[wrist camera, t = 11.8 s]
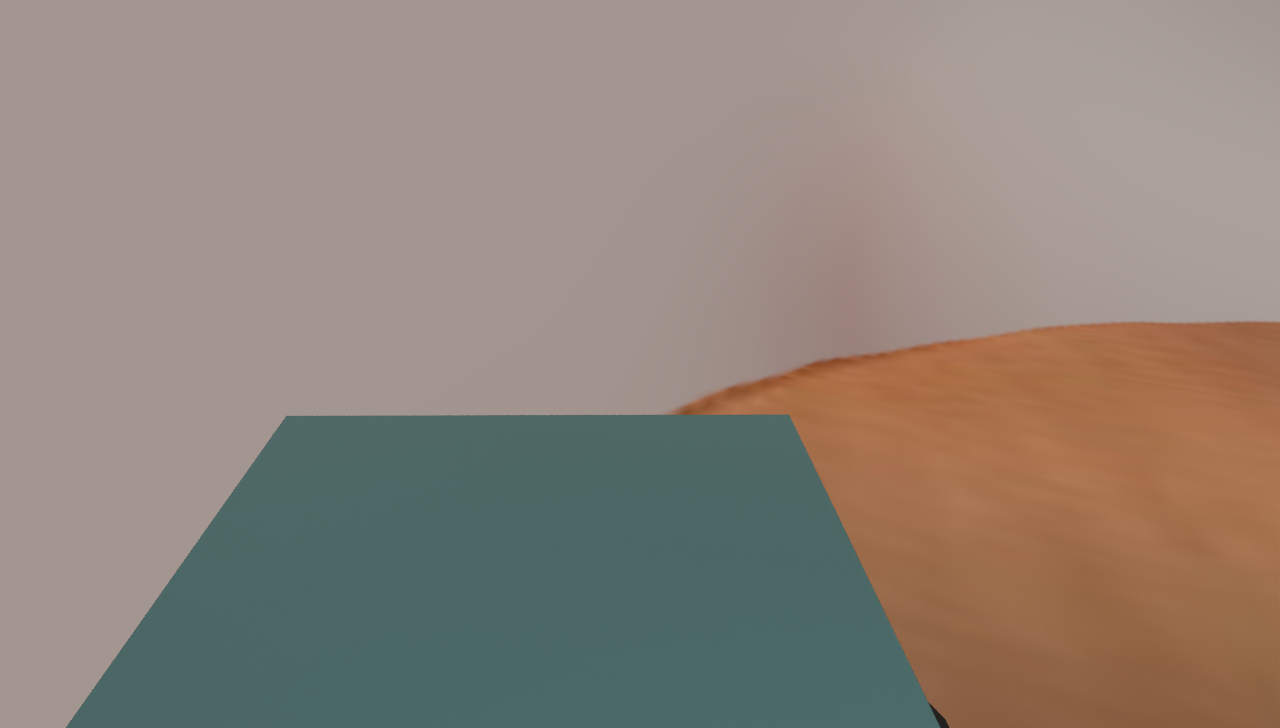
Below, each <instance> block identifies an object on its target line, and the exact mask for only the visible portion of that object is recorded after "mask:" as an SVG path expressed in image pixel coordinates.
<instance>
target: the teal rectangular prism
mask: <svg viewBox="0 0 1280 728" xmlns="http://www.w3.org/2000/svg"><path fill="white" fill-rule="evenodd" d="M66 728H940V726H939V724H938V722H937V720H936V718H935V716H934V714H933V711H932V709H931V707H930V705H929V703H928V701H927V699H926V697H925V695H924V693H923V691H922V689H921V687H920V685H919V683H918V680H917V678H916V676H915V674H914V672H913V670H912V668H911V666H910V664H909V662H908V660H907V658H906V656H905V654H904V651H903V649H902V647H901V645H900V643H899V641H898V639H897V637H896V635H895V633H894V631H893V629H892V627H891V625H890V623H889V620H888V618H887V616H886V614H885V612H884V610H883V608H882V606H881V604H880V602H879V600H878V598H877V596H876V594H875V592H874V589H873V587H872V585H871V583H870V581H869V579H868V577H867V575H866V573H865V571H864V569H863V567H862V565H861V563H860V561H859V558H858V556H857V554H856V552H855V550H854V548H853V546H852V544H851V542H850V540H849V538H848V536H847V534H846V532H845V530H844V527H843V525H842V523H841V521H840V519H839V517H838V515H837V513H836V511H835V509H834V507H833V505H832V503H831V501H830V499H829V496H828V494H827V492H826V490H825V488H824V486H823V484H822V482H821V480H820V478H819V476H818V474H817V472H816V470H815V468H814V465H813V463H812V461H811V459H810V457H809V455H808V453H807V451H806V449H805V447H804V445H803V443H802V441H801V439H800V436H799V434H798V432H797V430H796V428H795V426H794V424H793V422H792V420H791V418H790V416H789V415H520V416H519V415H516V416H515V415H513V416H511V415H505V416H504V415H503V416H502V415H501V416H500V415H499V416H498V415H496V416H495V415H491V416H490V415H489V416H286V417H285V419H284V420H283V422H282V423H281V424H280V426H279V427H278V429H277V430H276V431H275V433H274V434H273V436H272V437H271V439H270V440H269V441H268V443H267V444H266V446H265V447H264V449H263V450H262V451H261V453H260V454H259V456H258V457H257V458H256V460H255V461H254V463H253V464H252V465H251V467H250V468H249V470H248V471H247V473H246V474H245V475H244V477H243V478H242V480H241V481H240V483H239V484H238V485H237V487H236V488H235V489H234V491H233V492H232V494H231V495H230V497H229V498H228V499H227V501H226V502H225V504H224V505H223V506H222V508H221V509H220V511H219V512H218V513H217V515H216V516H215V518H214V519H213V521H212V522H211V523H210V525H209V526H208V528H207V529H206V530H205V532H204V533H203V535H202V536H201V538H200V539H199V541H198V542H197V543H196V545H195V546H194V547H193V549H192V550H191V552H190V553H189V555H188V556H187V557H186V559H185V560H184V562H183V563H182V564H181V566H180V567H179V569H178V570H177V571H176V573H175V574H174V576H173V577H172V579H171V580H170V581H169V583H168V584H167V586H166V587H165V588H164V590H163V591H162V593H161V594H160V596H159V597H158V599H157V600H156V601H155V603H154V604H153V605H152V607H151V608H150V610H149V611H148V613H147V614H146V615H145V617H144V618H143V620H142V621H141V622H140V624H139V626H138V627H137V628H136V630H135V631H134V632H133V634H132V635H131V637H130V638H129V639H128V641H127V642H126V644H125V645H124V646H123V648H122V649H121V651H120V652H119V654H118V655H117V657H116V658H115V659H114V661H113V662H112V663H111V665H110V666H109V668H108V669H107V671H106V672H105V673H104V675H103V676H102V678H101V679H100V681H99V682H98V683H97V685H96V686H95V688H94V689H93V690H92V692H91V693H90V695H89V696H88V697H87V699H86V700H85V702H84V703H83V704H82V706H81V707H80V709H79V710H78V712H77V713H76V714H75V716H74V717H73V719H72V720H71V721H70V723H69V724H68V726H67V727H66Z"/></svg>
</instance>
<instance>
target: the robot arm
mask: <svg viewBox="0 0 1280 728" xmlns="http://www.w3.org/2000/svg"><path fill="white" fill-rule="evenodd" d="M928 703H929V702H928ZM929 705H930V707H931V709H932V711H933V714H934V716H935V718H936V720H937V722H938V724H939V726H940V728H949V726H948V724H947V722H946V720H945V719H944V718H943V717H942V716H941V715H940V714H939V713H938V712H937V710H936V709H935V708H934V707H933V706H932V705H931V704H930V703H929Z"/></svg>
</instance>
